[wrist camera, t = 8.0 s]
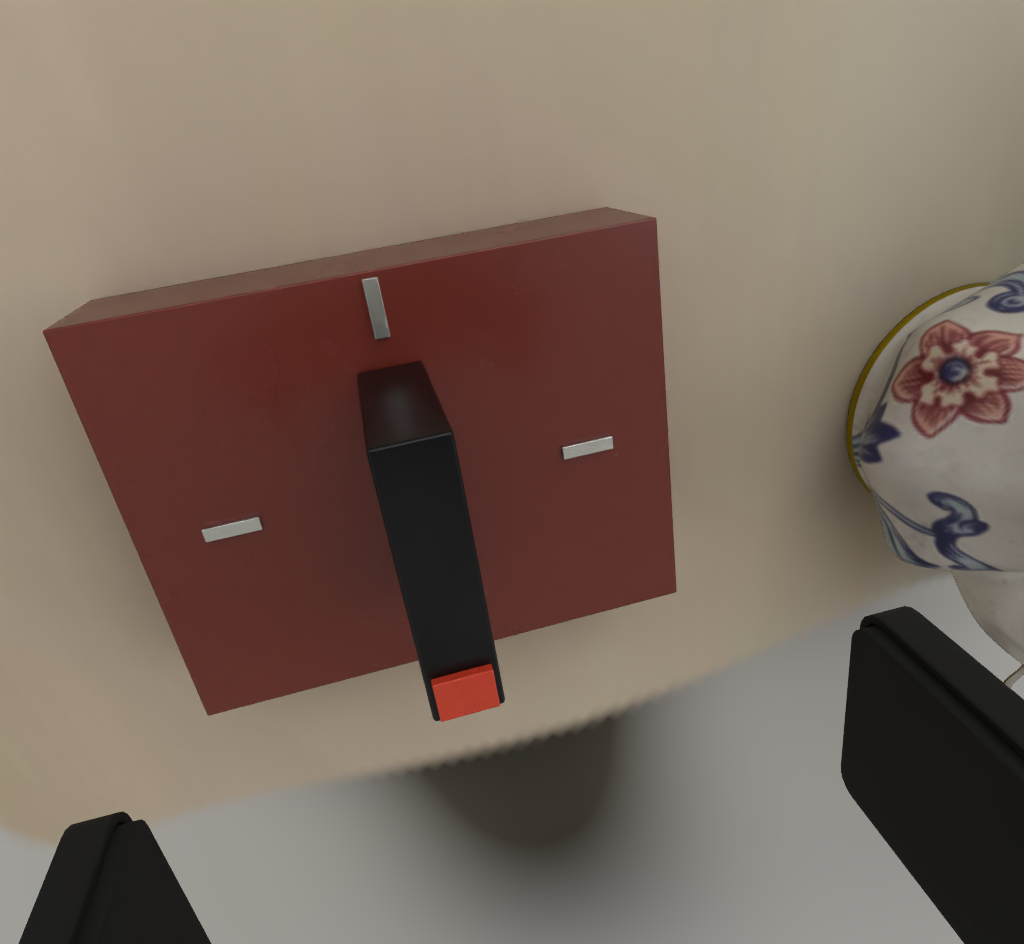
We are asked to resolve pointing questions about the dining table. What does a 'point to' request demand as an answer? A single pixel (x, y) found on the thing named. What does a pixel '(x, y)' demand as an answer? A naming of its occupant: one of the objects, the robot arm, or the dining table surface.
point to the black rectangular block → (430, 538)
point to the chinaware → (953, 446)
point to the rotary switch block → (341, 445)
